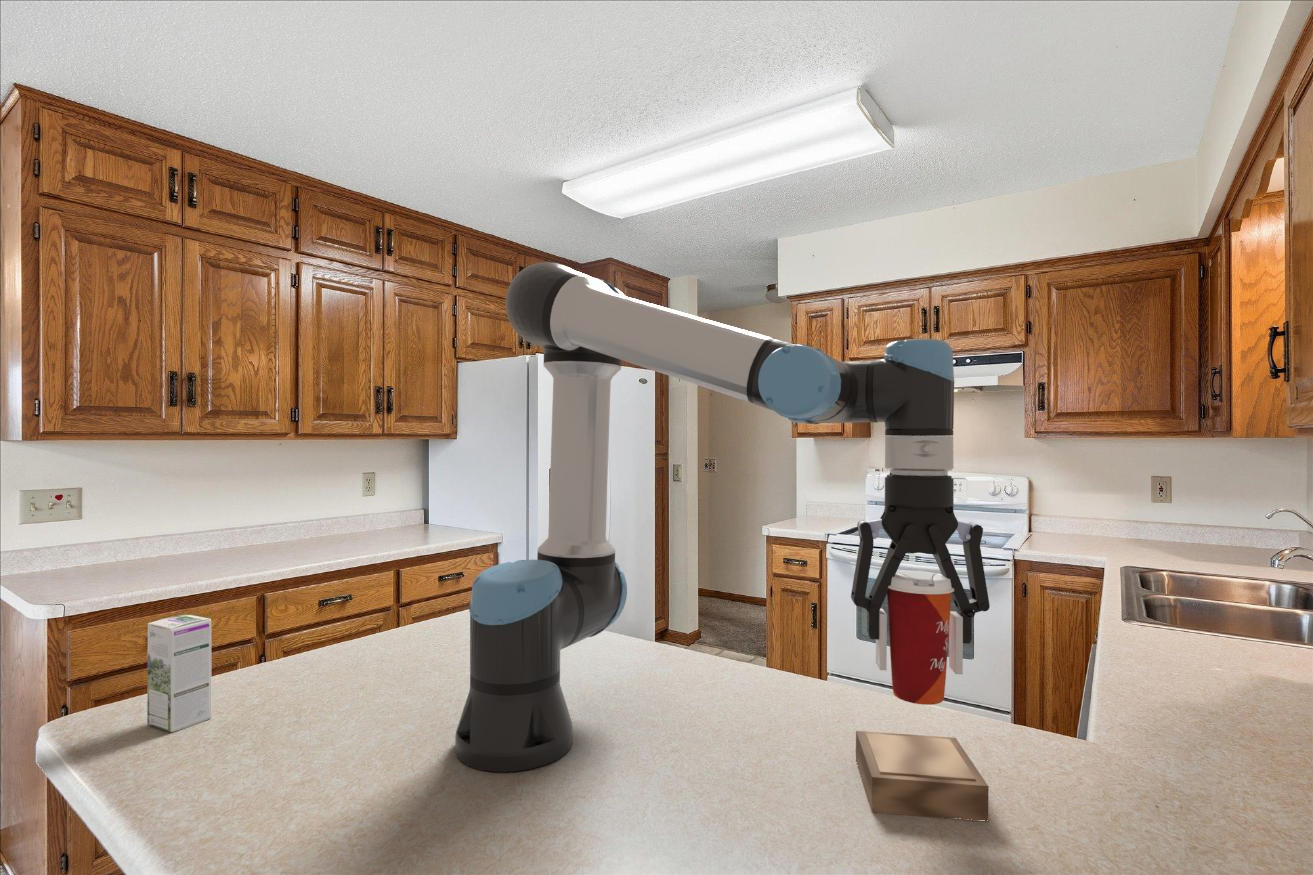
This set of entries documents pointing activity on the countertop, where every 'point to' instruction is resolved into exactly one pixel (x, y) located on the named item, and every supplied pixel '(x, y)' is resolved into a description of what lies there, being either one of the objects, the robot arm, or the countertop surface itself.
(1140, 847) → the countertop surface
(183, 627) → the syrup box
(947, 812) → the plinth
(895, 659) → the paper cup
